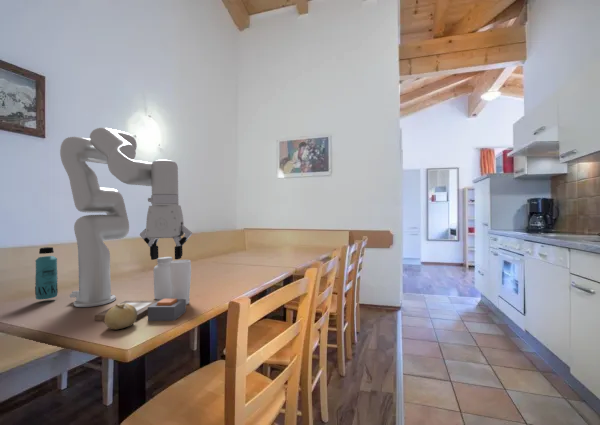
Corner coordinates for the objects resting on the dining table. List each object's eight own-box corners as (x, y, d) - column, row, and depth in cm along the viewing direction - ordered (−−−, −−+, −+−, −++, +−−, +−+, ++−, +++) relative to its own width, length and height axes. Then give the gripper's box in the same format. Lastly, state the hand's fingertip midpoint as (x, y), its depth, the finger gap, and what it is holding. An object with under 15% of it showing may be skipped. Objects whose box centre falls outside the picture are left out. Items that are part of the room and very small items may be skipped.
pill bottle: (169, 293, 120) (168, 255, 120) (181, 296, 116) (180, 257, 116) (149, 298, 114) (149, 258, 114) (161, 301, 109) (160, 259, 109)
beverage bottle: (31, 302, 111) (30, 248, 111) (51, 298, 117) (50, 246, 117) (42, 304, 108) (40, 248, 108) (62, 299, 115) (61, 246, 115)
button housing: (147, 320, 90) (147, 307, 90) (161, 311, 98) (161, 299, 98) (174, 320, 89) (174, 306, 89) (185, 311, 97) (185, 299, 97)
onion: (97, 330, 83) (97, 304, 83) (122, 320, 90) (122, 297, 90) (119, 334, 80) (119, 307, 80) (144, 323, 88) (143, 298, 88)
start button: (157, 312, 91) (157, 302, 91) (164, 308, 96) (164, 298, 96) (171, 312, 91) (170, 302, 91) (177, 308, 95) (177, 298, 95)
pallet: (94, 320, 91) (94, 314, 91) (125, 305, 106) (125, 300, 106) (137, 320, 90) (137, 314, 90) (162, 304, 105) (162, 300, 105)
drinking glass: (195, 301, 109) (194, 259, 109) (186, 307, 102) (185, 262, 102) (176, 301, 109) (176, 259, 109) (166, 307, 102) (165, 262, 102)
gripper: (130, 201, 90) (131, 261, 90) (188, 199, 89) (189, 260, 89) (144, 202, 98) (145, 257, 98) (197, 200, 97) (198, 256, 97)
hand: (166, 258), depth 93 cm, fingers open, 6 cm apart
